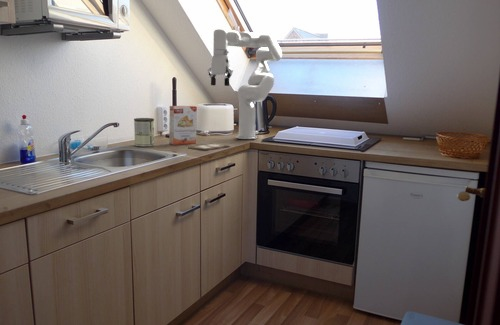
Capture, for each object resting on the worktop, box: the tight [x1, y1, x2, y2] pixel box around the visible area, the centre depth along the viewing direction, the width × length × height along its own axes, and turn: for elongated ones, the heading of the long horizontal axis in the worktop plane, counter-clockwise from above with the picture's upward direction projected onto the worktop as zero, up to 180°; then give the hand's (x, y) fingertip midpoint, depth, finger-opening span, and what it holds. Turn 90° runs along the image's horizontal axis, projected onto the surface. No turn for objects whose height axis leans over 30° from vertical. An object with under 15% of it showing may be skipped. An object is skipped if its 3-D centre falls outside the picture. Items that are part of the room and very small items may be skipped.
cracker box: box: [168, 105, 198, 146], centre depth 246 cm, size 14×6×21 cm, turn 125°
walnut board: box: [187, 143, 230, 152], centre depth 236 cm, size 19×12×1 cm, turn 143°
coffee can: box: [133, 117, 155, 147], centre depth 238 cm, size 10×10×14 cm
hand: (219, 85), depth 245 cm, fingers open, 9 cm apart
